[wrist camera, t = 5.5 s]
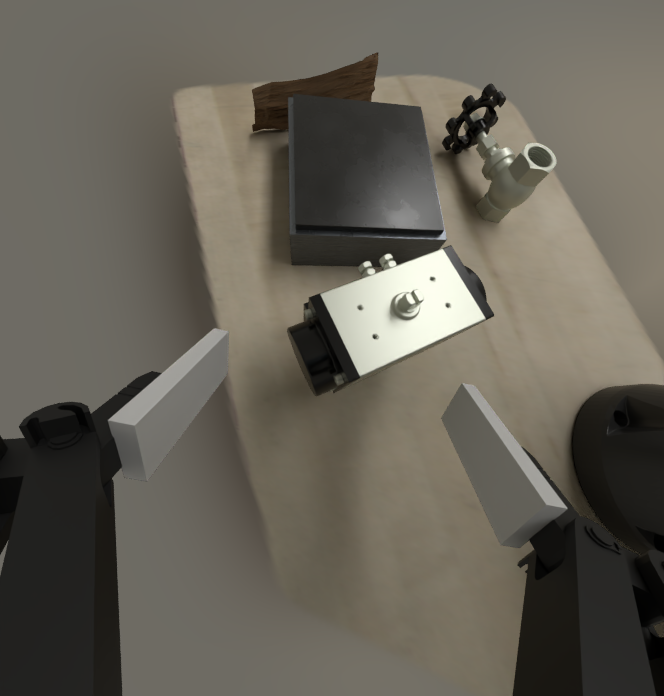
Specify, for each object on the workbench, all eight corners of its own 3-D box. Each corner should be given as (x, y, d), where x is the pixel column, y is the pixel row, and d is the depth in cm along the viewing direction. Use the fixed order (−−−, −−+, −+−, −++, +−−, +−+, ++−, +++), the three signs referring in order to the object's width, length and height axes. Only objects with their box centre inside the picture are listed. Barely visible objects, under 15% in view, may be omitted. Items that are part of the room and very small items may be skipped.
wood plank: (363, 101, 32) (373, 46, 27) (371, 112, 32) (383, 58, 27) (253, 133, 29) (243, 77, 24) (261, 146, 28) (252, 91, 23)
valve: (519, 219, 30) (474, 144, 32) (577, 167, 24) (516, 79, 26) (475, 231, 29) (431, 152, 31) (524, 179, 22) (464, 86, 25)
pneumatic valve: (422, 352, 24) (533, 297, 12) (312, 404, 22) (322, 394, 10) (396, 304, 25) (475, 211, 13) (287, 348, 23) (272, 280, 11)
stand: (423, 267, 26) (450, 235, 22) (291, 264, 25) (289, 229, 20) (405, 152, 30) (424, 103, 26) (290, 143, 29) (287, 89, 24)
